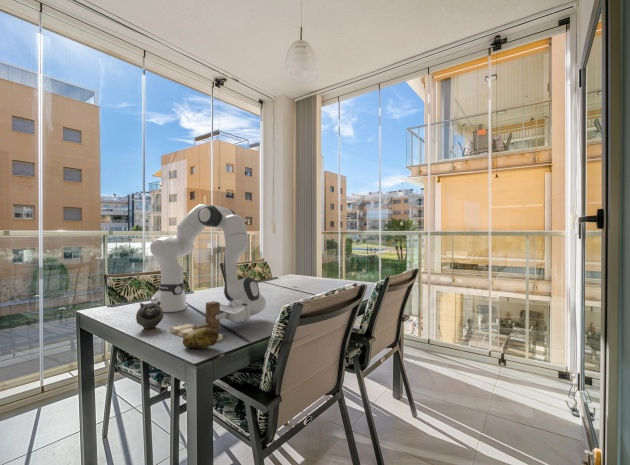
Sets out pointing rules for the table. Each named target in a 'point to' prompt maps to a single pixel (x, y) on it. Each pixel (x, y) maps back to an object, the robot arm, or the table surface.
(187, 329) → the plank
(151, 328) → the round clay pot
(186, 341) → the potato
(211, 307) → the wooden block
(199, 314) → the table surface
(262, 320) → the table surface
